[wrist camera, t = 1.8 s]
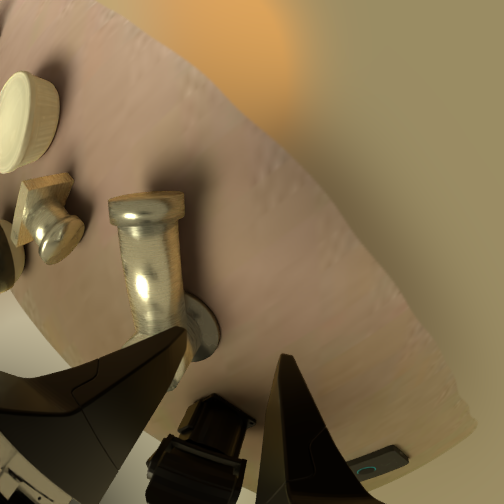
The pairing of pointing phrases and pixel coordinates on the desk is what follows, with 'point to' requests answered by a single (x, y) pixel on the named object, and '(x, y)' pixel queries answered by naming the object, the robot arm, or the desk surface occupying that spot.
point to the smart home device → (378, 463)
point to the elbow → (154, 266)
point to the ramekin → (26, 119)
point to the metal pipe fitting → (70, 233)
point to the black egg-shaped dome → (9, 258)
